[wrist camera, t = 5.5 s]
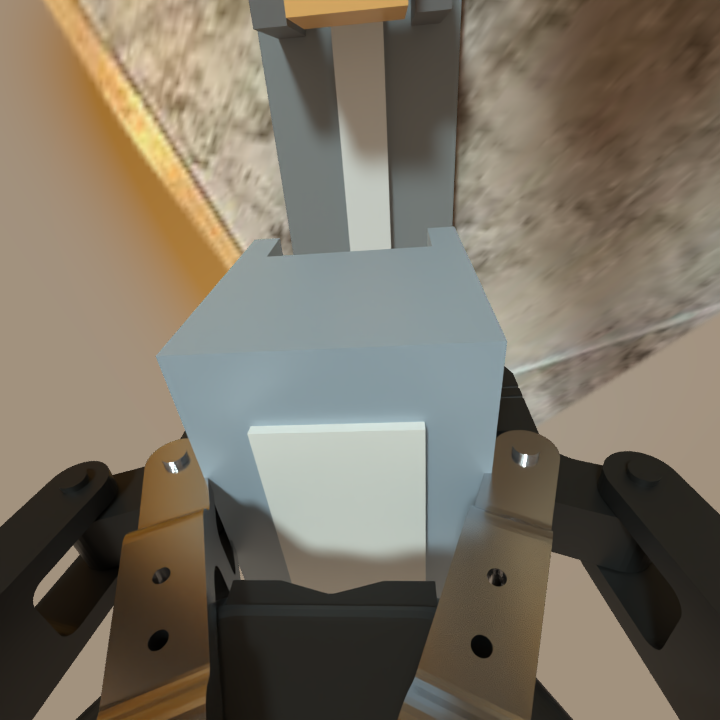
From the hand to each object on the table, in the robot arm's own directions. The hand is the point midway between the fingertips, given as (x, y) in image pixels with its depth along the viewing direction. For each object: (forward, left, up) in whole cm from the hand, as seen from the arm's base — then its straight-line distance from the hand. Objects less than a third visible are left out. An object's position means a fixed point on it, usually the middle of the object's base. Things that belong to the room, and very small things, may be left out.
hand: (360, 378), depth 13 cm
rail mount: (-2, 0, -17) cm, 18 cm away
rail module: (0, 0, -1) cm, 1 cm away
